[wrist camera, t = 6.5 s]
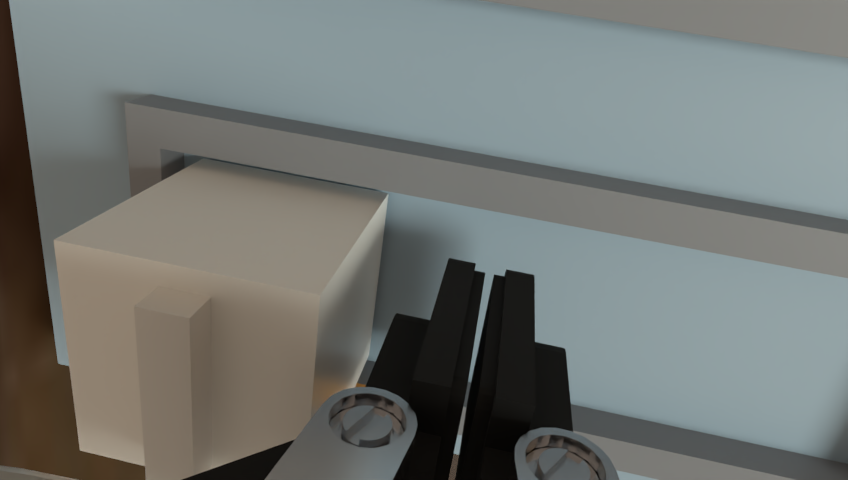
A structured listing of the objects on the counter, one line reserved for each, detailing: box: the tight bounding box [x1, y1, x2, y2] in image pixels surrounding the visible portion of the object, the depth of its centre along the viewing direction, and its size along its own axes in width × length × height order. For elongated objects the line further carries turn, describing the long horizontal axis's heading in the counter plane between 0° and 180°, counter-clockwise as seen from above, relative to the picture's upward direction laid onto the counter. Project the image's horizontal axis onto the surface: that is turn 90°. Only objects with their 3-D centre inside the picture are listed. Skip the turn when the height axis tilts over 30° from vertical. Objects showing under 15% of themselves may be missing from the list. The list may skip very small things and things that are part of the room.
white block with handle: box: [53, 158, 389, 480], centre depth 11 cm, size 4×4×5 cm
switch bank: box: [9, 0, 848, 480], centre depth 11 cm, size 18×22×2 cm
